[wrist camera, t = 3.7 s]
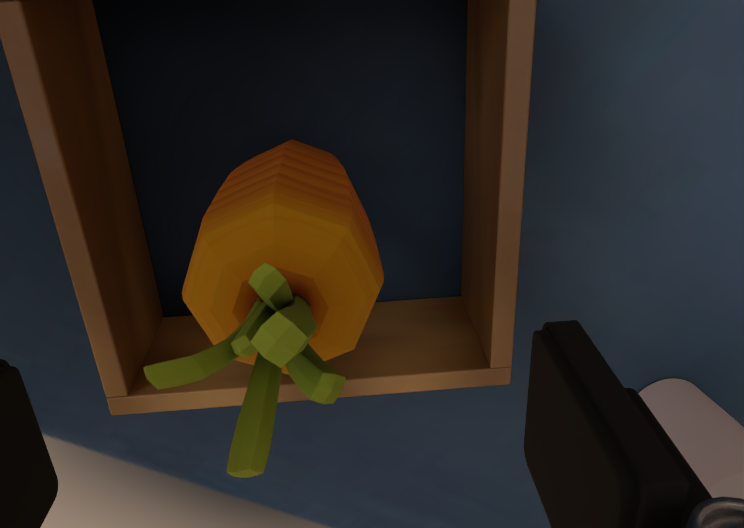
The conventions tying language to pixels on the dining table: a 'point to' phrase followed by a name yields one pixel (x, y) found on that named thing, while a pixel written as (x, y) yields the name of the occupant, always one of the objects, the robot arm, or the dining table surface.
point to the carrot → (278, 286)
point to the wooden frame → (183, 333)
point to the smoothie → (700, 434)
